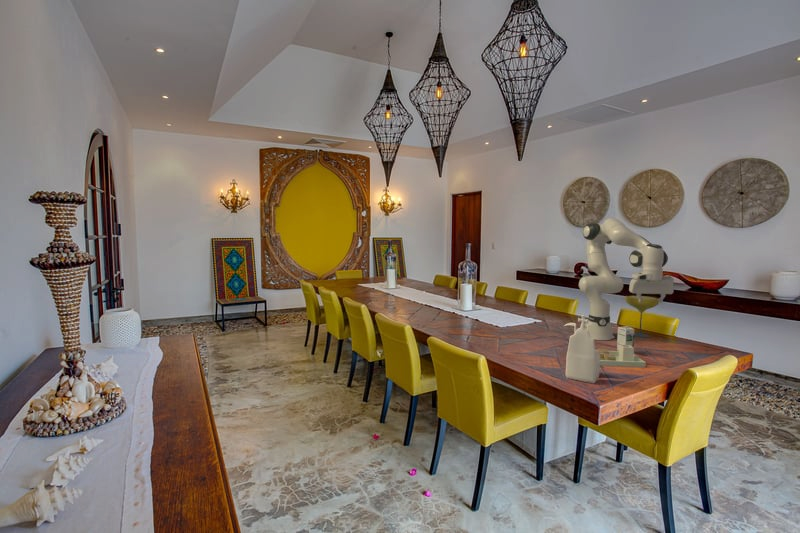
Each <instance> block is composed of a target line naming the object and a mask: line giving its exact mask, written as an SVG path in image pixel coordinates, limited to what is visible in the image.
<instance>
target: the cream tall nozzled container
mask: <svg viewBox="0 0 800 533" xmlns="http://www.w3.org/2000/svg"><path fill="white" fill-rule="evenodd" d="M580 322H581V323H580ZM577 323H580V327H579V328H577ZM577 323H575V322H568V323H566V324H565V325H563V327H566V326H572V327H574V328H573V329H574V330H573V331H574V333H573V334H572V335H570V336H569V340H568V341H569V342H568V347H567V352H566V359H565V360H566V362H565V363H566V364H565V378H566V379H568V378H569V380H574V381H580V382H584V383H589V384H595V383H596V382H597V381H598V379H599V378H600V367H601V366H600V355H599V354H598V353H599V351H598V349H596V346H595V345H596V344H595V343H596V342H595V341H596V340H594V339H593V338H591V337H590V334H589V331H588V330H587V329H585V323H588V318H587V319H586V315H584V314H583V315H581V318H580V317H578V318H577Z"/></svg>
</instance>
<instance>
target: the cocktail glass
mask: <svg viewBox="0 0 800 533" xmlns="http://www.w3.org/2000/svg"><path fill="white" fill-rule="evenodd" d="M640 297H641V298H642V299H643V302H639V298H638V297H637V294H626V296H625V302H626V304H628V305H629V306H631V307H632V308H634V309H636V310H637V311H638V312H639V313H640V321H639V330H638V332H634V338H641V339H647V338H648V337H649V338H650V337H651V335H649V334H646V333H642V319H643V317H642V316H643V313H644V312H646V311H647V310H649V309H651V308H655V307H656V306H658V305H659V303H660V302H658V299H660V297H658V296H654V295H650V294H641V296H640Z"/></svg>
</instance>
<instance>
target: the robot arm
mask: <svg viewBox="0 0 800 533" xmlns="http://www.w3.org/2000/svg"><path fill="white" fill-rule="evenodd" d="M582 236H583V238H584V239H586V240H587V242H586V245H585V246H586V247H585V254H586V261H587V268H588V270H590V271H592V272H593V273H595V274H596V275H587V276H582V277H581V278H580V279H579V282H578V288H579V289H580V291H581V292H582V293H583V294H584V295H585V296H586V297H587V299H588V302H589V314H588V317H587V319H588V323H586V322H585V323H584V324H585V329H587V330H588V331H589V334H590V337H591V338H593V339H594V341H610V340H612V339H615V336H614V335H613V324H611V323H610V322H611V316H610V310H611V307H610V303H609V301H607V300H605V299H604V298H603V297H602V294H617V293H620V292H621V291H622V290H623V288H624V281H623V280H622V278H621V277H620V276H618V275H616V274H615V273H614V272H613V270H611V268H610V266H609V263H608V259H607V252H606V248H605V246H606V244H607V245H611V244H615V245H617V246H621V247H631V248H636V249H635V250H633V251H632V252H631V253H630V255H629V263H630V264H631V266H632V267H634V268H638V269H639V268H642V271H639V272H636V273H633V274H631V278H632V279H631V280H630V282H629V288H628V291H629V292H630V293H632V294H636V295H637V297H638V298H639V302H643V299H642V298H641V297H640V296H641V295H660V297H659V299H658V302H659V303H663V300H664V299H665V298H666V295H672V294H674V282H675V280H674V279H675V278H674V277H672V276H671V275H664V274H663V271H664V269H663V267H665V266H666V265H667V263H668V261H669V260H668V259H669V257H668V254H667V252H666V251H665V250H664V249H663V246H662V245H660V244H656V243H655V244H654V243H652V242H650V241H649V240H647V239H646V238H645V237H643V236H642V235H640V234H638V233H636V232H635V231H633V230H631V229H630V228H629V227H627V226H626V224H624V223H623V222H622V221H620V219H617V218H616V217H615V218H614V217H609V218H607V219H605V220H604V221H603V222H602V223H596V222H595V223H594V222H592V223H587V224H585V226H584V227H583V228H582Z"/></svg>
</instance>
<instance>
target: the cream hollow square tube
mask: <svg viewBox="0 0 800 533" xmlns="http://www.w3.org/2000/svg"><path fill="white" fill-rule="evenodd" d="M634 355H635V347H632V346H631V345H619V361H633V360H634Z"/></svg>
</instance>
